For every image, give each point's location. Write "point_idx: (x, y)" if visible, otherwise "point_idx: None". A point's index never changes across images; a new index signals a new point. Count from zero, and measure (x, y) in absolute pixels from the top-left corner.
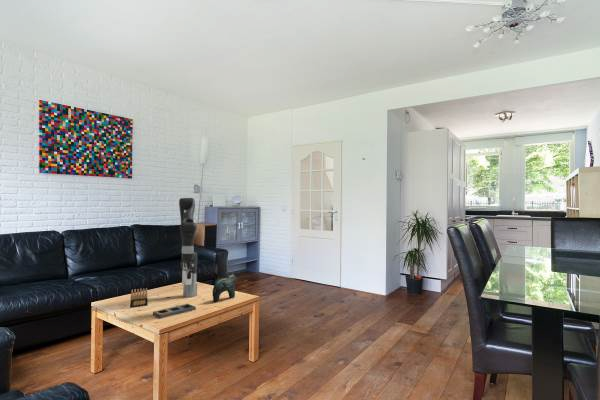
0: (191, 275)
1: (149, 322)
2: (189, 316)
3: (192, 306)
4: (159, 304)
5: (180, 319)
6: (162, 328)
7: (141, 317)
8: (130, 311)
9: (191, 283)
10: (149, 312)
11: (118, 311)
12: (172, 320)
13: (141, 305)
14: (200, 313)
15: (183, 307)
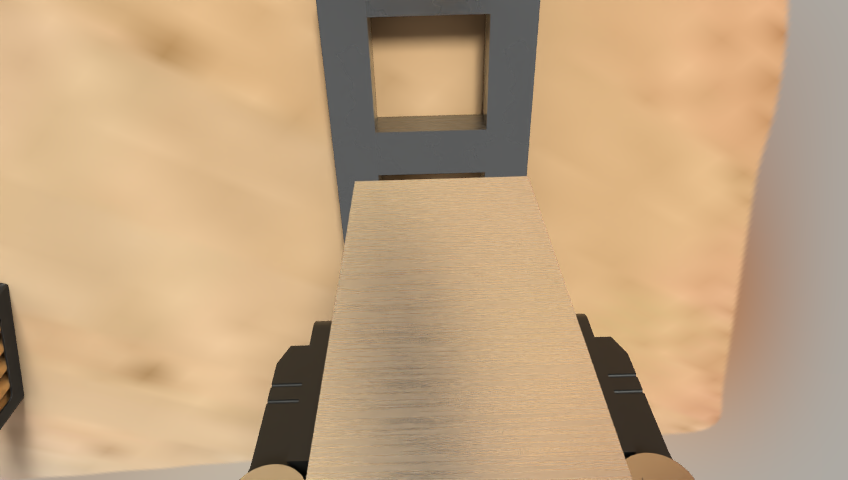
0: (577, 340)
1: None
2: (680, 162)
3: (494, 13)
4: (21, 189)
5: (674, 259)
6: (719, 414)
7: None
8: (146, 424)
9: (530, 189)
10: (271, 348)
11: (97, 469)
12: (634, 311)
13: (10, 334)
14: (710, 16)
15: (372, 75)
